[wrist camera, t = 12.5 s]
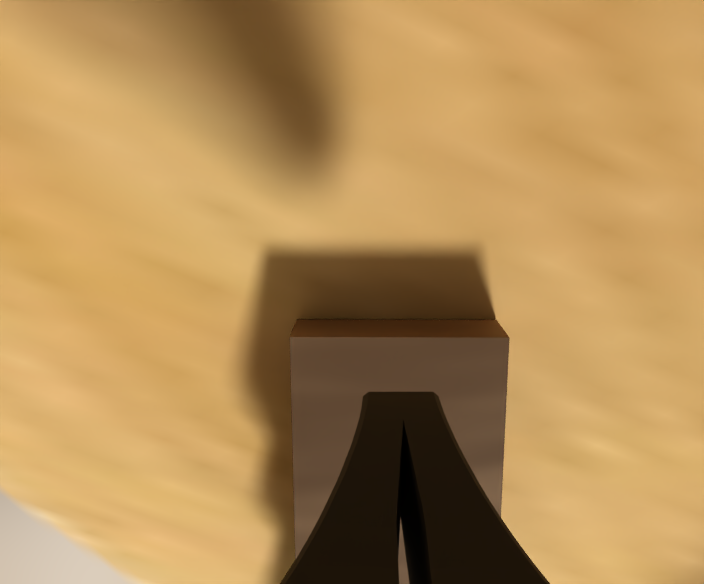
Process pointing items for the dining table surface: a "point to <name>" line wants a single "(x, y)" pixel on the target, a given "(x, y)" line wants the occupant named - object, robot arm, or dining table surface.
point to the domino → (392, 376)
